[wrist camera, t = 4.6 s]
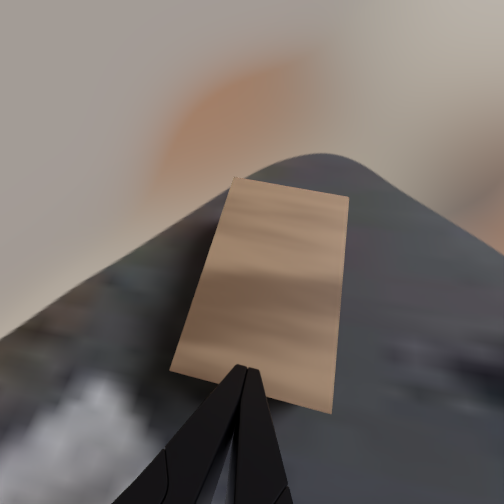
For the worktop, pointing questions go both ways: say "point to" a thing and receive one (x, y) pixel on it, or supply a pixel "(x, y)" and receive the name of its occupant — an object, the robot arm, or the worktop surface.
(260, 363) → the walnut block
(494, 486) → the worktop surface
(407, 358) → the worktop surface
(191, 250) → the worktop surface
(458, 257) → the worktop surface
